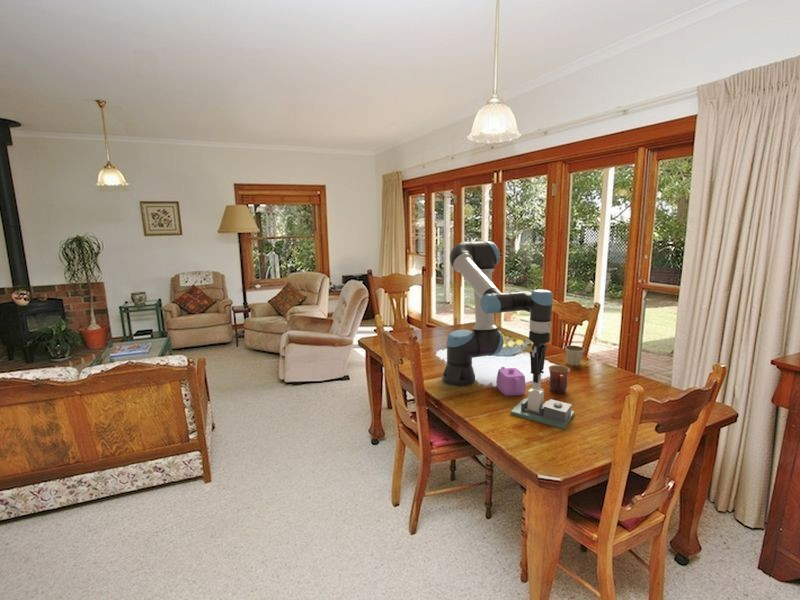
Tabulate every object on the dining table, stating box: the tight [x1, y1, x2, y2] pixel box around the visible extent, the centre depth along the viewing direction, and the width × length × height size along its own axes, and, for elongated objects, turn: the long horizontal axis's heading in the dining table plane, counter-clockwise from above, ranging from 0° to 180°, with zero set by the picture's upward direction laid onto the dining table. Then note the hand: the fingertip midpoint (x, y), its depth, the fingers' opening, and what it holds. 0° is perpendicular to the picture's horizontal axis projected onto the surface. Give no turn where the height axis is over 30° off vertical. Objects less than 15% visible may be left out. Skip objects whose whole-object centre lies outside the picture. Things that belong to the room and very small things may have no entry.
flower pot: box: [564, 344, 585, 367], centre depth 213 cm, size 9×9×9 cm
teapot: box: [495, 366, 527, 397], centre depth 182 cm, size 18×10×10 cm, turn 8°
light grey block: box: [527, 387, 545, 413], centre depth 161 cm, size 5×5×8 cm
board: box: [510, 396, 575, 430], centre depth 160 cm, size 20×14×6 cm
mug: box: [548, 364, 571, 394], centre depth 179 cm, size 12×9×10 cm
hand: (536, 389), depth 160 cm, fingers closed
